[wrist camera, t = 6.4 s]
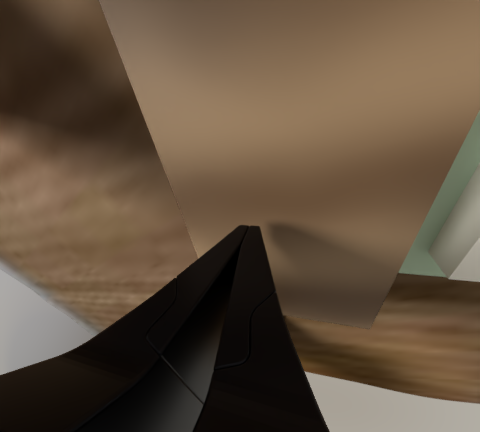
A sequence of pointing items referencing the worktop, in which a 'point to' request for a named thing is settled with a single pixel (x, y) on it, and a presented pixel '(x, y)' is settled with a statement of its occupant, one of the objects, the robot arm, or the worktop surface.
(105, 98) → the worktop surface
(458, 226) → the cream white eraser block
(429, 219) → the mat
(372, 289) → the brown wooden block
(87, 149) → the worktop surface
